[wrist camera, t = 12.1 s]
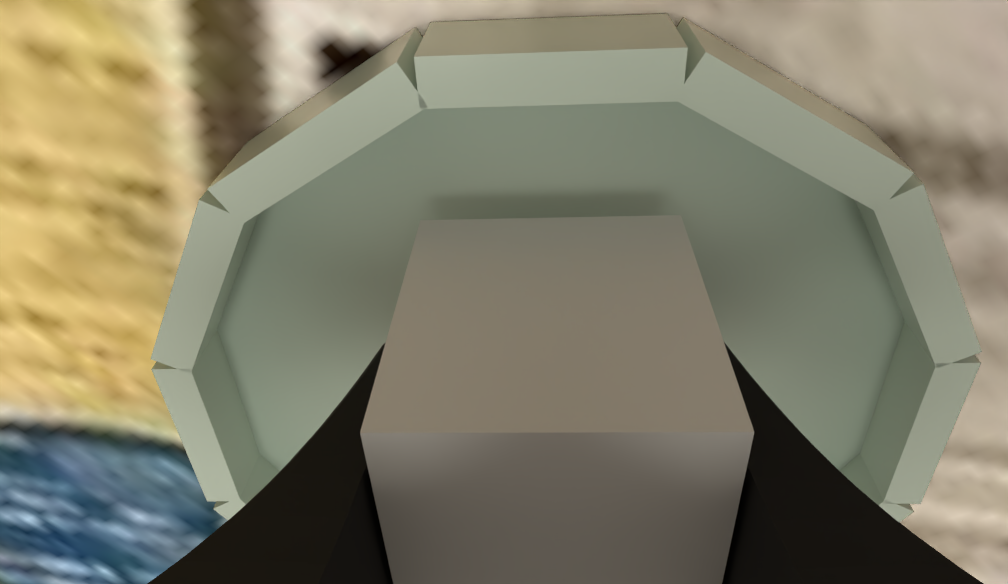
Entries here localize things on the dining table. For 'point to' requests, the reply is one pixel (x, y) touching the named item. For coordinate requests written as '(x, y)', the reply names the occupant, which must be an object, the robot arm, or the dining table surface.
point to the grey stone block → (556, 408)
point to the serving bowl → (570, 193)
